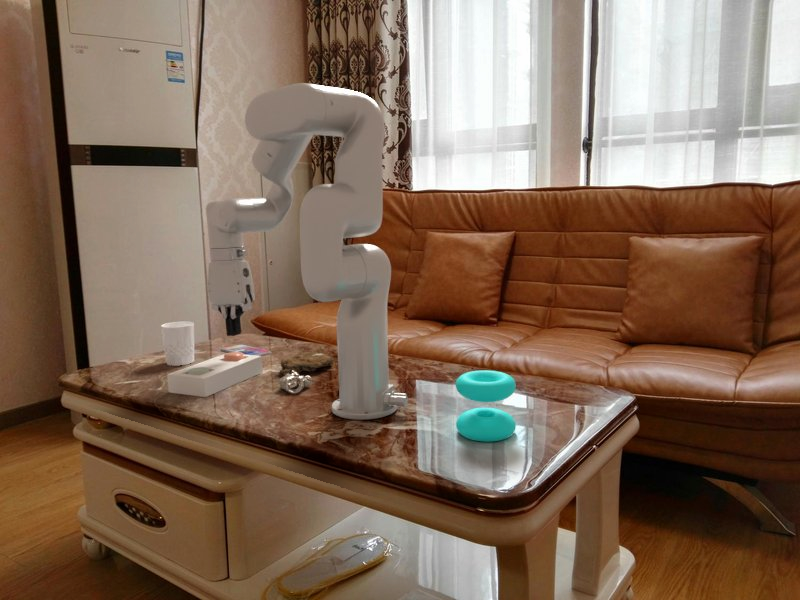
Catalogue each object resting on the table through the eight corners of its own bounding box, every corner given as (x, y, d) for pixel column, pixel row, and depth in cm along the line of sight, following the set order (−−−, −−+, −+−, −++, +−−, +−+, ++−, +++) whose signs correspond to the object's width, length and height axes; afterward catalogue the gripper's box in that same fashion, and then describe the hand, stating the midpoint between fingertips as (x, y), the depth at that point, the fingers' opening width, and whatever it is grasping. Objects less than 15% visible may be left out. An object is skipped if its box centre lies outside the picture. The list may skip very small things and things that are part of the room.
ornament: (315, 393, 132) (315, 376, 131) (283, 397, 130) (282, 380, 129) (308, 383, 139) (307, 367, 139) (277, 386, 137) (276, 370, 137)
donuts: (448, 370, 109) (502, 366, 111) (449, 425, 110) (502, 420, 112) (466, 387, 99) (525, 381, 101) (466, 447, 101) (525, 440, 103)
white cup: (190, 366, 155) (187, 327, 154) (159, 367, 156) (155, 327, 154) (200, 358, 163) (198, 321, 162) (171, 359, 163) (167, 321, 162)
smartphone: (242, 343, 177) (273, 351, 167) (242, 347, 177) (273, 355, 167) (219, 348, 172) (249, 356, 161) (219, 351, 172) (249, 360, 162)
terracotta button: (248, 369, 147) (247, 352, 147) (236, 374, 143) (235, 357, 143) (233, 367, 149) (232, 351, 149) (221, 372, 145) (219, 355, 145)
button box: (262, 372, 148) (261, 355, 148) (205, 397, 130) (204, 378, 129) (228, 368, 152) (227, 352, 151) (168, 392, 134) (167, 374, 133)
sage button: (214, 385, 137) (213, 368, 136) (200, 391, 133) (199, 373, 132) (198, 384, 138) (197, 366, 138) (184, 389, 134) (183, 371, 134)
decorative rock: (311, 382, 141) (340, 367, 155) (312, 364, 141) (340, 351, 155) (267, 376, 145) (299, 362, 159) (268, 358, 144) (300, 346, 158)
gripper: (264, 253, 142) (270, 332, 145) (212, 254, 148) (218, 330, 151) (243, 256, 136) (250, 339, 138) (190, 257, 142) (197, 336, 144)
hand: (234, 334), depth 145 cm, fingers closed
